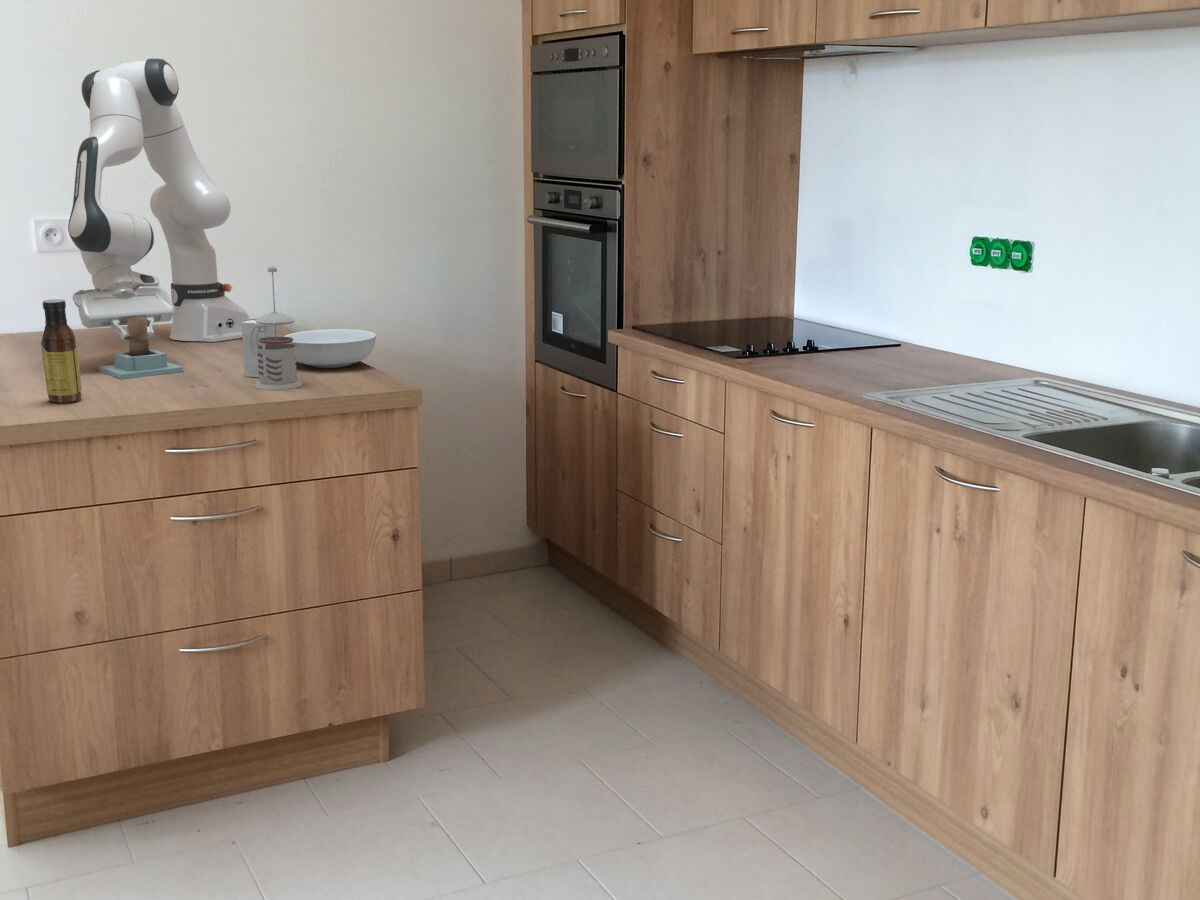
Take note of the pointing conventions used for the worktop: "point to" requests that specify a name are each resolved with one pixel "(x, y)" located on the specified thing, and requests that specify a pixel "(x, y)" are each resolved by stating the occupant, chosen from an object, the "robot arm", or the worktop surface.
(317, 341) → the serving bowl
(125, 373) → the holder
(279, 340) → the french press
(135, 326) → the brown cylinder
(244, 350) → the skincare box
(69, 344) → the sauce bottle
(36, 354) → the worktop surface
